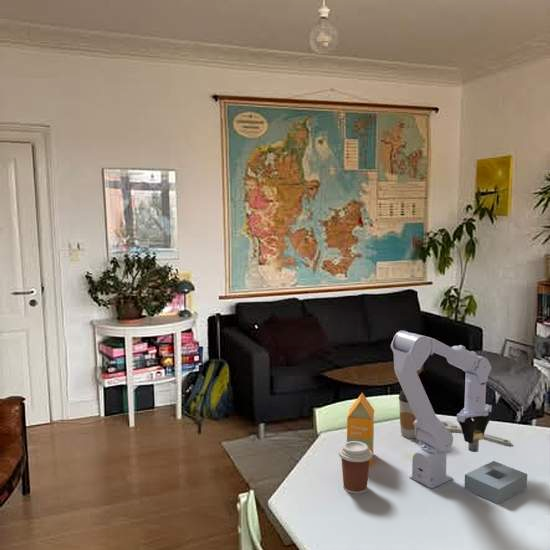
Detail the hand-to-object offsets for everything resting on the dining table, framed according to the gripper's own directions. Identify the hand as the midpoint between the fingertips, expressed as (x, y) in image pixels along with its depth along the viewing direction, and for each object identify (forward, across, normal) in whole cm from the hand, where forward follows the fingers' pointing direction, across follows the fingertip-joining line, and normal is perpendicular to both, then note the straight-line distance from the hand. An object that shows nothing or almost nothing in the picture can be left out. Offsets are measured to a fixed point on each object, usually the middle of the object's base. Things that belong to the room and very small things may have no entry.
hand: (473, 439), depth 154 cm
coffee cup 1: (+9, -37, +12) cm, 40 cm away
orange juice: (+9, -23, +24) cm, 34 cm away
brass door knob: (+3, 0, 0) cm, 3 cm away
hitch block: (+9, -6, -11) cm, 15 cm away
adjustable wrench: (+9, +21, +14) cm, 27 cm away
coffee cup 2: (+9, +4, +27) cm, 29 cm away
